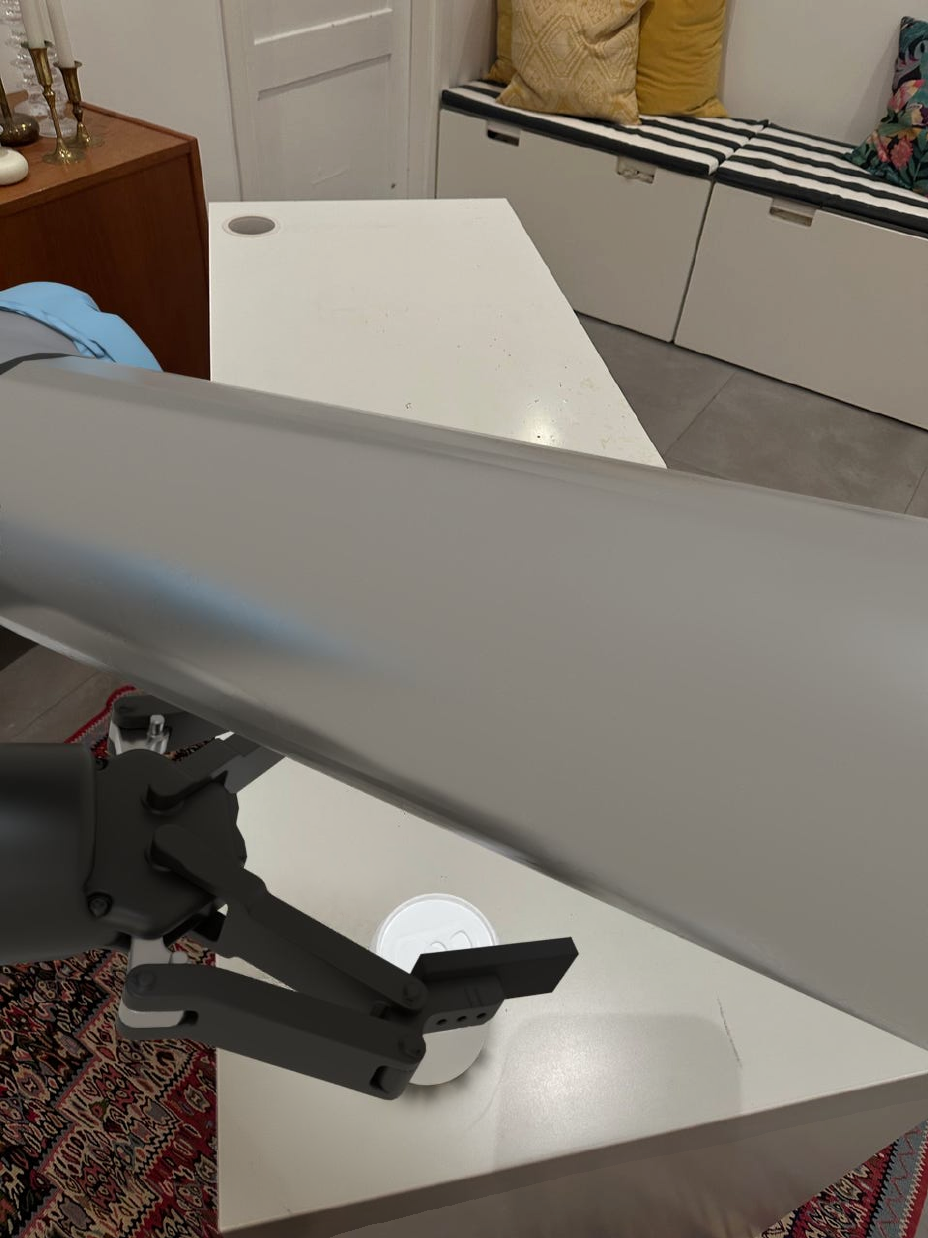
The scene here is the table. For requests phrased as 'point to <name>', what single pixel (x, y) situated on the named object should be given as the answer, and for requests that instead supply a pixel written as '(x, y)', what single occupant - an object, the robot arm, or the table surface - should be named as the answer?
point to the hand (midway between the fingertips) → (502, 829)
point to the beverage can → (429, 930)
